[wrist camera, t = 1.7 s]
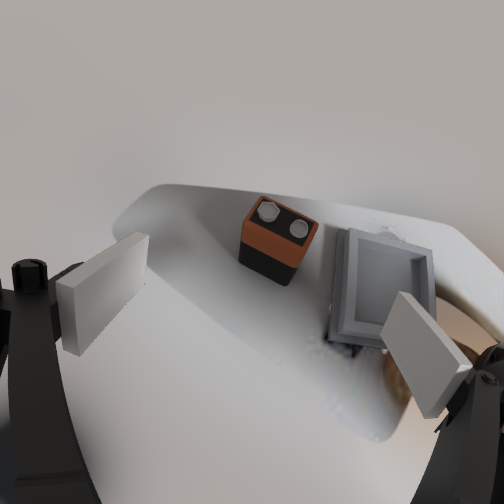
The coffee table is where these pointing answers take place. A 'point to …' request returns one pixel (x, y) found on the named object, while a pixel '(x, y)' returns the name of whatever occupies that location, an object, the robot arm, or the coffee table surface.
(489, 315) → the coffee table surface
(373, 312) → the charging dock
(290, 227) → the battery
